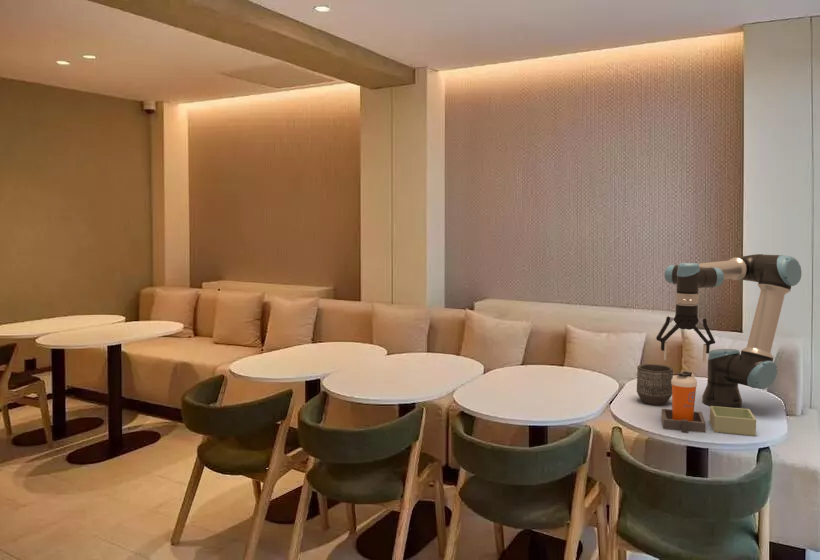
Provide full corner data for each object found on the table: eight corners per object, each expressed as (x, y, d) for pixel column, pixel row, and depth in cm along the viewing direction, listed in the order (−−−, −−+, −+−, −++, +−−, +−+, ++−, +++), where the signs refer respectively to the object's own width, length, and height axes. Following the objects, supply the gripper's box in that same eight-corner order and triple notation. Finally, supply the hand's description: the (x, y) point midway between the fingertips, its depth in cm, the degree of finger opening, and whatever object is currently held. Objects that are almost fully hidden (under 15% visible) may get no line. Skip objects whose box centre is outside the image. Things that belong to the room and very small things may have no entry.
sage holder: (709, 421, 248) (710, 405, 248) (748, 424, 244) (749, 409, 243) (714, 432, 235) (714, 416, 235) (755, 436, 231) (756, 419, 230)
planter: (672, 399, 278) (674, 365, 276) (671, 408, 265) (672, 372, 263) (638, 395, 284) (639, 362, 282) (634, 404, 271) (635, 369, 269)
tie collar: (661, 417, 253) (661, 406, 253) (701, 420, 249) (701, 409, 248) (663, 430, 237) (663, 419, 237) (706, 434, 233) (706, 422, 232)
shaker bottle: (665, 424, 244) (667, 373, 242) (675, 419, 250) (677, 369, 248) (689, 430, 238) (691, 377, 236) (699, 424, 244) (701, 373, 242)
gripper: (651, 304, 240) (649, 360, 242) (725, 307, 232) (722, 365, 234) (650, 301, 247) (648, 356, 249) (722, 304, 239) (719, 360, 241)
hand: (684, 360), depth 241 cm, fingers open, 13 cm apart
